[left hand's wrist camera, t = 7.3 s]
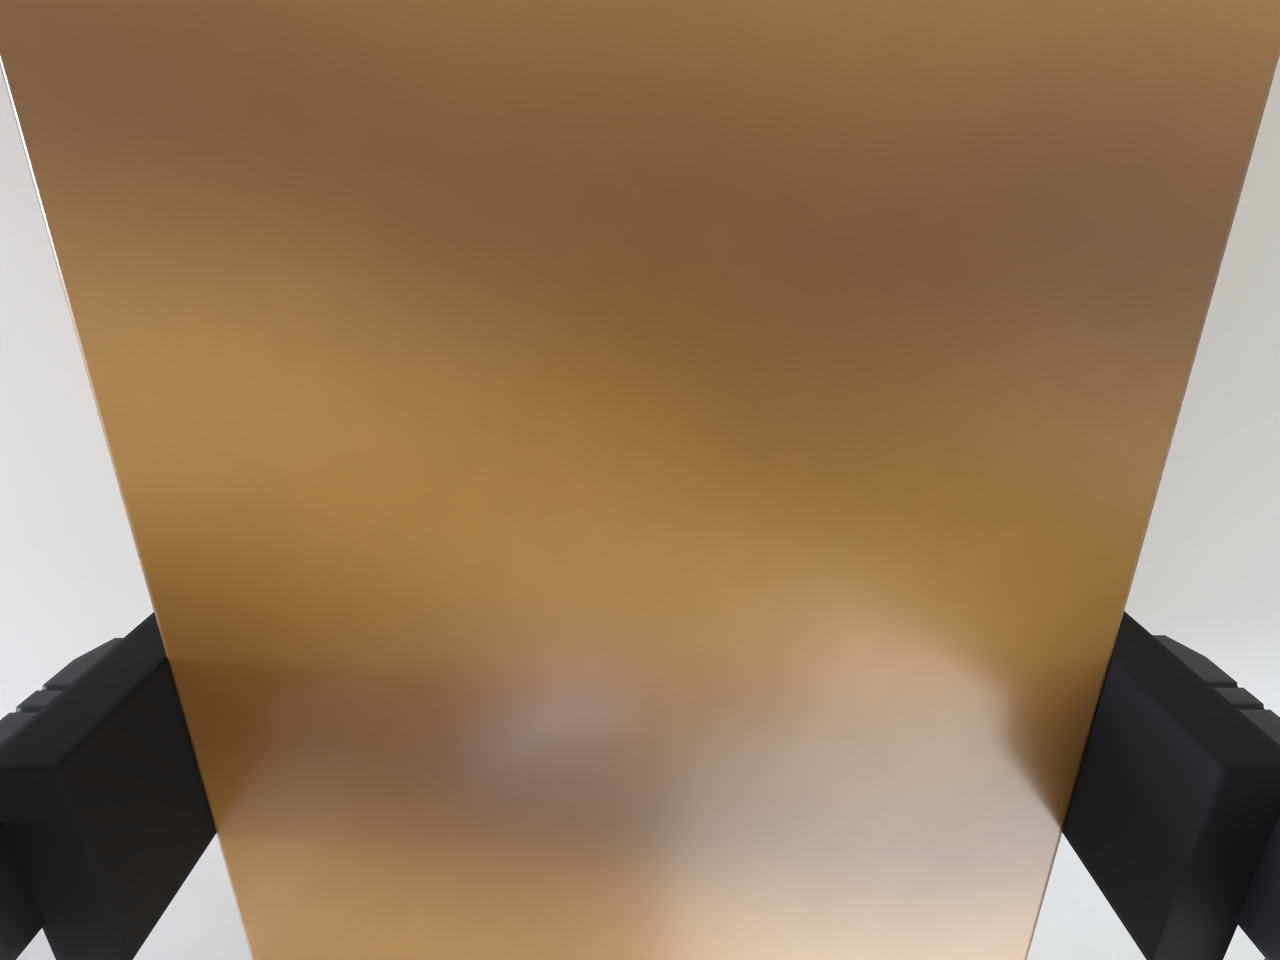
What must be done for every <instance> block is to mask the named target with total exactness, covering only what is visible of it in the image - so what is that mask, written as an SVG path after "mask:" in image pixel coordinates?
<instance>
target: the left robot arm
mask: <svg viewBox="0 0 1280 960" xmlns="http://www.w3.org/2000/svg"><path fill="white" fill-rule="evenodd" d="M16 708H17V710H16V712H15V713H9V714H8V715H6V716H5V717H4V718H3V719H1V720H0V960H16V959H17V958H18V956H19V955H20V954H21V953H22V951H23V950H24V949H25V948H26V947H27V945H28V944H29V943H30V942H31V940H32V939H33V938H34V937H35V935H36V934H37V933H38V932H39V931H40V929H41V928H43V930H44V933H45V935H46V937H47V940H48V942H49V944H50V947H51V949H52V951H53V954H54V956H55V958H56V960H133V958H134V957H135V955H136V954H137V952H138V951H139V949H140V948H141V946H142V945H143V943H144V942H145V940H146V939H147V937H148V935H149V934H150V932H151V931H152V929H153V928H154V926H155V925H156V923H157V922H158V920H159V919H160V917H161V916H162V914H163V913H164V911H165V910H166V908H167V907H168V905H169V904H170V902H171V901H172V899H173V898H174V896H175V895H176V893H177V892H178V890H179V889H180V887H181V886H182V884H183V883H184V881H185V880H186V878H187V877H188V875H189V874H190V872H191V870H192V869H193V867H194V866H195V864H196V863H197V861H198V860H199V858H200V857H201V855H202V854H203V852H204V851H205V849H206V848H207V846H208V845H209V843H210V842H211V840H212V839H213V837H214V836H215V834H216V829H215V826H214V822H213V819H212V815H211V811H210V808H209V804H208V801H207V797H206V794H205V790H204V787H203V783H202V780H201V776H200V772H199V769H198V765H197V762H196V758H195V755H194V751H193V748H192V744H191V740H190V737H189V733H188V730H187V726H186V723H185V719H184V716H183V712H182V709H181V705H180V701H179V698H178V694H177V691H176V687H175V684H174V680H173V677H172V673H171V669H170V666H169V662H168V659H167V655H166V652H165V648H164V645H163V641H162V638H161V634H160V630H159V627H158V623H157V620H156V616H155V613H154V612H153V613H152V614H151V615H150V616H149V617H148V618H146V619H145V620H144V621H143V622H142V623H141V624H139V625H138V626H137V627H136V628H135V629H134V630H133V631H131V632H130V633H129V634H128V635H127V636H126V637H124V638H114V639H112V640H110V641H108V642H107V643H105V644H103V645H101V646H99V647H97V648H95V649H93V650H91V651H90V652H88V653H86V654H84V655H82V656H80V657H78V658H76V659H75V660H73V661H72V662H71V663H69V664H68V665H67V666H66V667H65V668H63V669H62V670H61V671H60V672H58V673H57V674H56V675H55V676H54V677H52V678H51V679H50V680H49V681H48V682H46V683H45V684H44V685H43V689H42V691H35V692H34V693H33V694H32V695H31V696H29V697H28V698H27V699H26V700H25V701H23V702H22V703H21V704H20V705H18V706H17V707H16ZM1062 832H1063V834H1064V835H1065V837H1066V838H1067V840H1068V841H1069V843H1070V845H1071V846H1072V848H1073V849H1074V851H1075V852H1076V854H1077V855H1078V857H1079V858H1080V860H1081V861H1082V863H1083V864H1084V866H1085V867H1086V869H1087V870H1088V872H1089V873H1090V875H1091V876H1092V878H1093V879H1094V881H1095V882H1096V884H1097V885H1098V887H1099V888H1100V890H1101V891H1102V893H1103V894H1104V896H1105V897H1106V899H1107V900H1108V902H1109V903H1110V905H1111V906H1112V908H1113V910H1114V911H1115V913H1116V914H1117V916H1118V917H1119V919H1120V920H1121V922H1122V923H1123V925H1124V926H1125V928H1126V929H1127V931H1128V932H1129V934H1130V935H1131V937H1132V938H1133V940H1134V941H1135V943H1136V944H1137V946H1138V947H1139V949H1140V950H1141V952H1142V953H1143V955H1144V956H1145V958H1146V959H1147V960H1223V958H1224V956H1225V953H1226V951H1227V949H1228V946H1229V944H1230V942H1231V939H1232V937H1233V935H1234V932H1235V930H1236V928H1237V925H1239V926H1240V927H1241V929H1242V930H1243V931H1244V932H1245V934H1246V935H1247V936H1248V937H1249V938H1250V940H1251V941H1252V942H1253V943H1254V944H1255V946H1256V947H1257V948H1258V949H1259V951H1260V952H1261V953H1262V954H1263V955H1264V957H1265V959H1264V960H1280V717H1279V716H1277V715H1276V714H1275V713H1274V712H1272V711H1271V710H1265V709H1264V707H1263V703H1261V702H1260V701H1259V700H1258V699H1257V698H1255V697H1254V696H1253V695H1252V694H1250V693H1249V692H1248V691H1247V690H1246V689H1244V688H1238V686H1237V682H1236V681H1235V680H1233V679H1232V678H1231V677H1230V676H1228V675H1227V674H1226V673H1225V672H1224V671H1222V670H1221V669H1220V668H1219V667H1217V666H1216V665H1215V664H1214V663H1213V662H1211V661H1210V660H1209V659H1208V658H1206V657H1205V656H1203V655H1201V654H1199V653H1197V652H1195V651H1193V650H1192V649H1190V648H1188V647H1186V646H1184V645H1182V644H1180V643H1178V642H1176V641H1174V640H1173V639H1171V638H1169V637H1167V636H1165V635H1151V634H1150V633H1149V632H1148V631H1147V630H1145V629H1144V628H1143V627H1142V626H1141V625H1140V624H1138V623H1137V622H1136V621H1135V620H1134V619H1133V618H1131V617H1130V616H1129V615H1128V614H1127V613H1126V612H1125V611H1124V612H1123V616H1122V620H1121V623H1120V627H1119V630H1118V634H1117V637H1116V641H1115V645H1114V648H1113V652H1112V655H1111V659H1110V662H1109V666H1108V670H1107V673H1106V677H1105V680H1104V684H1103V687H1102V691H1101V695H1100V698H1099V702H1098V705H1097V709H1096V713H1095V716H1094V720H1093V723H1092V727H1091V730H1090V734H1089V738H1088V741H1087V745H1086V748H1085V752H1084V755H1083V759H1082V763H1081V766H1080V770H1079V773H1078V777H1077V780H1076V784H1075V788H1074V791H1073V795H1072V798H1071V802H1070V805H1069V809H1068V813H1067V816H1066V820H1065V823H1064V827H1063V830H1062Z"/></svg>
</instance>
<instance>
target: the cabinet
mask: <svg viewBox="0 0 1280 960" xmlns="http://www.w3.org/2000/svg"><path fill="white" fill-rule="evenodd" d="M1279 55H1280V0H0V66H1V70H2V73H3V77H4V80H5V84H6V87H7V91H8V95H9V98H10V102H11V105H12V109H13V112H14V116H15V119H16V123H17V126H18V130H19V134H20V137H21V141H22V144H23V148H24V151H25V155H26V158H27V162H28V165H29V169H30V173H31V176H32V180H33V183H34V187H35V190H36V194H37V197H38V201H39V205H40V208H41V212H42V215H43V219H44V222H45V226H46V229H47V233H48V236H49V240H50V244H51V247H52V251H53V254H54V258H55V261H56V265H57V268H58V272H59V276H60V279H61V283H62V286H63V290H64V293H65V297H66V300H67V304H68V307H69V311H70V315H71V318H72V322H73V325H74V329H75V332H76V336H77V339H78V343H79V347H80V350H81V354H82V357H83V361H84V364H85V368H86V371H87V375H88V378H89V382H90V386H91V389H92V393H93V396H94V400H95V403H96V407H97V410H98V414H99V417H100V421H101V425H102V428H103V432H104V435H105V439H106V442H107V446H108V449H109V453H110V457H111V460H112V464H113V467H114V471H115V474H116V478H117V481H118V485H119V488H120V492H121V496H122V499H123V503H124V506H125V510H126V513H127V517H128V520H129V524H130V528H131V531H132V535H133V538H134V542H135V545H136V549H137V552H138V556H139V559H140V563H141V567H142V570H143V574H144V577H145V581H146V584H147V588H148V591H149V595H150V599H151V602H152V606H153V609H154V613H155V616H156V620H157V623H158V627H159V630H160V634H161V638H162V641H163V645H164V648H165V652H166V655H167V659H168V662H169V666H170V669H171V673H172V677H173V680H174V684H175V687H176V691H177V694H178V698H179V701H180V705H181V709H182V712H183V716H184V719H185V723H186V726H187V730H188V733H189V737H190V740H191V744H192V748H193V751H194V755H195V758H196V762H197V765H198V769H199V772H200V776H201V780H202V783H203V787H204V790H205V794H206V797H207V801H208V804H209V808H210V811H211V815H212V819H213V822H214V826H215V829H216V833H217V836H218V840H219V843H220V847H221V851H222V854H223V858H224V861H225V865H226V868H227V872H228V875H229V879H230V882H231V886H232V890H233V893H234V897H235V900H236V904H237V907H238V911H239V914H240V918H241V921H242V925H243V929H244V932H245V936H246V939H247V943H248V946H249V950H250V953H251V957H252V960H1026V959H1027V956H1028V952H1029V948H1030V945H1031V941H1032V938H1033V934H1034V931H1035V927H1036V923H1037V920H1038V916H1039V913H1040V909H1041V906H1042V902H1043V898H1044V895H1045V891H1046V888H1047V884H1048V881H1049V877H1050V873H1051V870H1052V866H1053V863H1054V859H1055V856H1056V852H1057V848H1058V845H1059V841H1060V838H1061V834H1062V830H1063V827H1064V823H1065V820H1066V816H1067V813H1068V809H1069V805H1070V802H1071V798H1072V795H1073V791H1074V788H1075V784H1076V780H1077V777H1078V773H1079V770H1080V766H1081V763H1082V759H1083V755H1084V752H1085V748H1086V745H1087V741H1088V738H1089V734H1090V730H1091V727H1092V723H1093V720H1094V716H1095V713H1096V709H1097V705H1098V702H1099V698H1100V695H1101V691H1102V687H1103V684H1104V680H1105V677H1106V673H1107V670H1108V666H1109V662H1110V659H1111V655H1112V652H1113V648H1114V645H1115V641H1116V637H1117V634H1118V630H1119V627H1120V623H1121V620H1122V616H1123V612H1124V609H1125V605H1126V602H1127V598H1128V595H1129V591H1130V587H1131V584H1132V580H1133V577H1134V573H1135V570H1136V566H1137V562H1138V559H1139V555H1140V552H1141V548H1142V544H1143V541H1144V537H1145V534H1146V530H1147V527H1148V523H1149V519H1150V516H1151V512H1152V509H1153V505H1154V502H1155V498H1156V494H1157V491H1158V487H1159V484H1160V480H1161V477H1162V473H1163V469H1164V466H1165V462H1166V459H1167V455H1168V452H1169V448H1170V444H1171V441H1172V437H1173V434H1174V430H1175V426H1176V423H1177V419H1178V416H1179V412H1180V409H1181V405H1182V401H1183V398H1184V394H1185V391H1186V387H1187V384H1188V380H1189V376H1190V373H1191V369H1192V366H1193V362H1194V359H1195V355H1196V351H1197V348H1198V344H1199V341H1200V337H1201V334H1202V330H1203V326H1204V323H1205V319H1206V316H1207V312H1208V309H1209V305H1210V301H1211V298H1212V294H1213V291H1214V287H1215V283H1216V280H1217V276H1218V273H1219V269H1220V266H1221V262H1222V258H1223V255H1224V251H1225V248H1226V244H1227V241H1228V237H1229V233H1230V230H1231V226H1232V223H1233V219H1234V216H1235V212H1236V208H1237V205H1238V201H1239V198H1240V194H1241V191H1242V187H1243V183H1244V180H1245V176H1246V173H1247V169H1248V165H1249V162H1250V158H1251V155H1252V151H1253V148H1254V144H1255V140H1256V137H1257V133H1258V130H1259V126H1260V123H1261V119H1262V115H1263V112H1264V108H1265V105H1266V101H1267V98H1268V94H1269V90H1270V87H1271V83H1272V80H1273V76H1274V73H1275V69H1276V65H1277V62H1278V58H1279Z"/></svg>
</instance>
